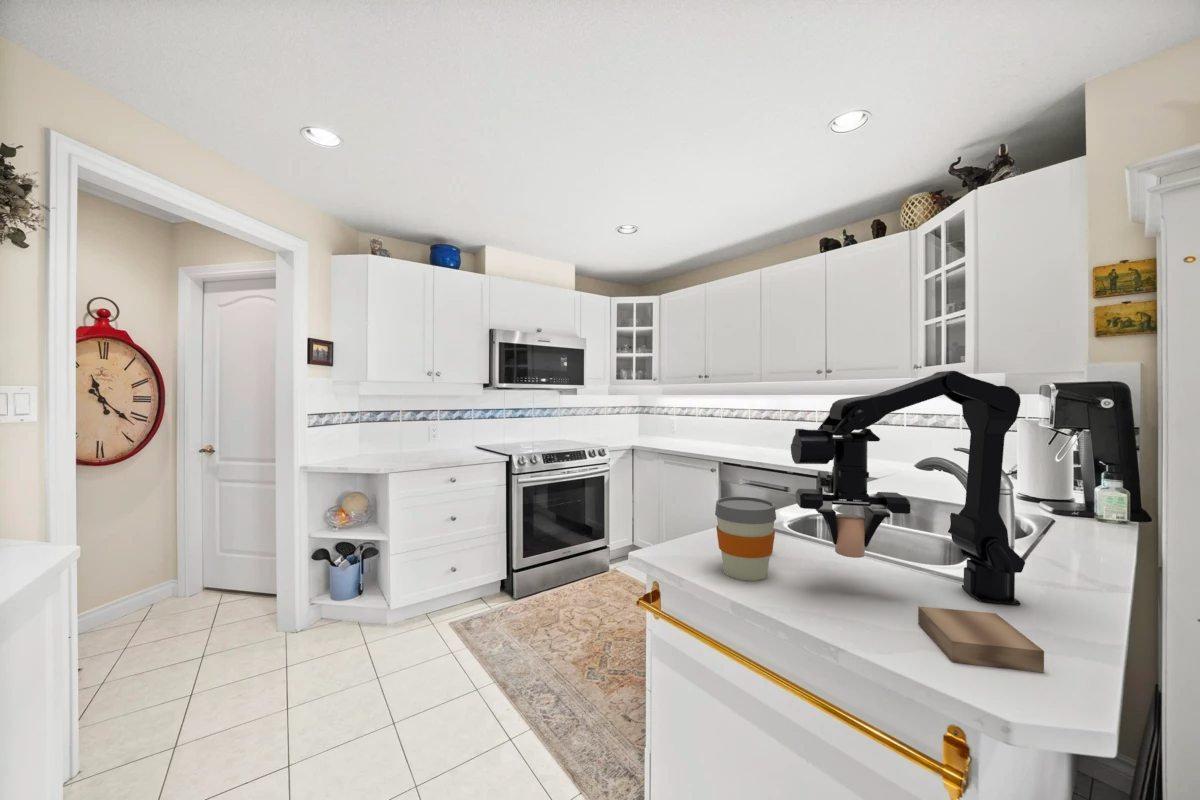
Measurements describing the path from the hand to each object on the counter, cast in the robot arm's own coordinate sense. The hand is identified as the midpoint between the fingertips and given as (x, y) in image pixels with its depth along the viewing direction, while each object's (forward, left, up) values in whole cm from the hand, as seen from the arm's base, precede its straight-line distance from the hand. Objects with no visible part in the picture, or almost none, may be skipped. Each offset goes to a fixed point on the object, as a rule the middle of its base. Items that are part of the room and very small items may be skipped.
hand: (849, 544), depth 88 cm
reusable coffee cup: (+19, -6, -10) cm, 22 cm away
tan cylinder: (0, 0, -2) cm, 2 cm away
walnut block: (-13, +16, -9) cm, 23 cm away
